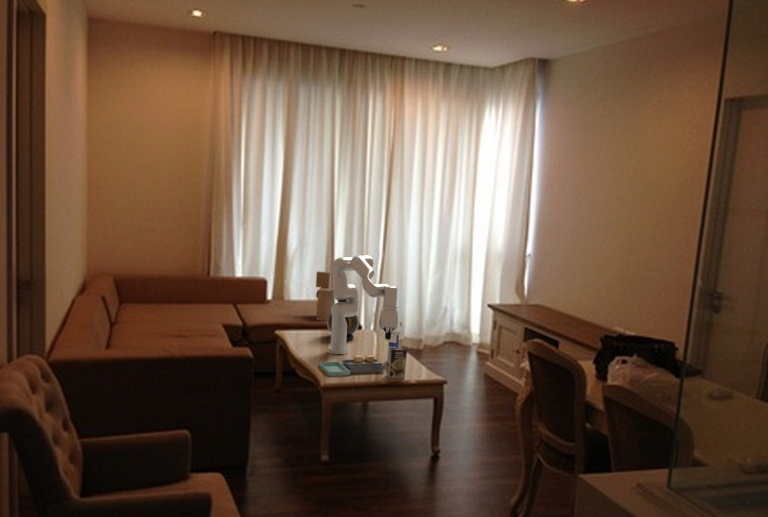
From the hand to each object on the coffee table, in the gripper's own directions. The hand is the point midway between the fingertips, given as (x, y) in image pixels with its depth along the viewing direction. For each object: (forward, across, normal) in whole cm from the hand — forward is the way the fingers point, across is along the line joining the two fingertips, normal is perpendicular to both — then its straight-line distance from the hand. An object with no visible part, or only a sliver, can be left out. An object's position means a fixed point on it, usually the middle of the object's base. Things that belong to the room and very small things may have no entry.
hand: (387, 339), depth 391 cm
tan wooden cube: (+14, +17, -1) cm, 22 cm away
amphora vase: (+17, +1, -79) cm, 80 cm away
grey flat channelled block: (+18, +14, -1) cm, 23 cm away
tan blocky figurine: (+16, -6, -146) cm, 147 cm away
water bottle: (+18, -10, -15) cm, 25 cm away
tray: (+18, +31, -1) cm, 36 cm away
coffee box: (+18, 0, +15) cm, 24 cm away
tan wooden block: (+14, +10, -1) cm, 17 cm away
